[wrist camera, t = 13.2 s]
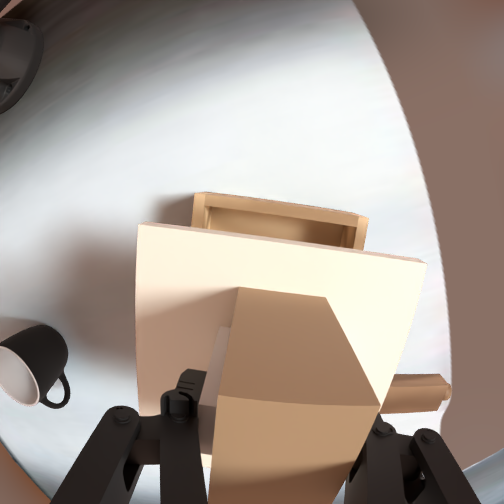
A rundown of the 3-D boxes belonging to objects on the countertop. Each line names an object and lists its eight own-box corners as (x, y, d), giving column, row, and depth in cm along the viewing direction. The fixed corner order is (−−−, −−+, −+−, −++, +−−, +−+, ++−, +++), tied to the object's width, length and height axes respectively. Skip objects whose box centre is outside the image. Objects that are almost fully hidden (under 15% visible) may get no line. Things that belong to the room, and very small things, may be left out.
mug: (21, 331, 40) (-19, 359, 30) (49, 306, 38) (6, 335, 28) (66, 393, 41) (35, 430, 31) (99, 375, 40) (67, 416, 30)
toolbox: (206, 191, 35) (182, 194, 24) (369, 215, 34) (408, 228, 24) (191, 356, 39) (170, 406, 28) (334, 373, 39) (351, 425, 28)
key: (361, 373, 30) (368, 386, 28) (447, 373, 30) (457, 384, 28) (352, 399, 31) (357, 414, 28) (436, 398, 31) (445, 409, 28)
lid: (151, 219, 18) (27, 271, 7) (411, 255, 18) (536, 329, 7) (151, 436, 22) (108, 547, 11) (343, 456, 22) (371, 567, 11)
